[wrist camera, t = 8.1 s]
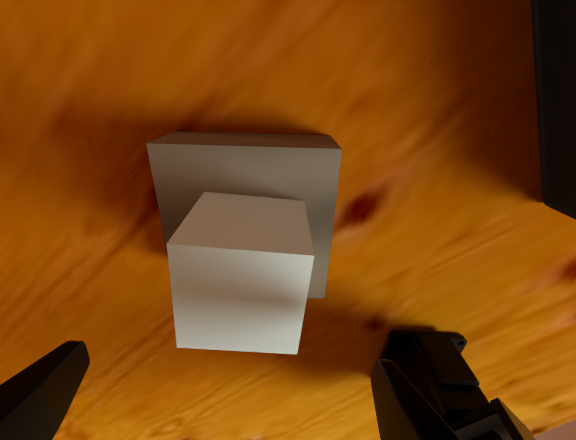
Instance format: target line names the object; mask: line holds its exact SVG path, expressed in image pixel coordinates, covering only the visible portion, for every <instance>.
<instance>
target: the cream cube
mask: <svg viewBox="0 0 576 440" xmlns="http://www.w3.org/2000/svg"><path fill="white" fill-rule="evenodd" d="M167 253H168V263H169V273H170V283H171V293H172V303H173V313H174V323H175V333H176V343H177V348H193V349H210V350H228V351H245V352H263V353H280V354H297V352H298V347H299V341H300V335H301V330H302V324H303V318H304V312H305V307H306V301H307V295H308V290H309V284H310V278H311V272H312V267H313V261H314V251H313V245H312V240H311V234H310V229H309V224H308V218H307V213H306V207H305V202H304V201H301V200H290V199H280V198H269V197H258V196H247V195H236V194H225V193H214V192H204V193H203V194H202V195H201V197H200V198H199V200H198V201H197V202H196V204H195V205H194V207H193V208H192V209H191V211H190V212H189V214H188V215H187V216H186V218H185V219H184V220H183V222H182V223H181V225H180V226H179V227H178V229H177V230H176V232H175V233H174V234H173V236H172V237H171V239H170V240H169V241H168V243H167Z"/></svg>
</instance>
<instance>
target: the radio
mask: <svg viewBox="0 0 576 440" xmlns="http://www.w3.org/2000/svg"><path fill="white" fill-rule="evenodd" d="M531 12H532V29H533V45H534V62H535V78H536V95H537V112H538V128H539V145H540V162H541V178H542V195H543V202H544V204H545V205H547V206H548V207H550V208H552V209H554V210H556V211H559V212H561V213H563V214H565V215H567V216H569V217H571V218H574V219H576V0H531Z"/></svg>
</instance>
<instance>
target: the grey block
mask: <svg viewBox="0 0 576 440" xmlns="http://www.w3.org/2000/svg"><path fill="white" fill-rule="evenodd" d="M146 145H147V150H148V155H149V161H150V166H151V171H152V176H153V182H154V187H155V192H156V198H157V203H158V208H159V213H160V219H161V224H162V229H163V235H164V240H165V245H166V250H167V243H168V241H169V240H170V239H171V237H172V236H173V234H174V233H175V232H176V230H177V229H178V227H179V226H180V225H181V223H182V222H183V220H184V219H185V218H186V216H187V215H188V214H189V212H190V211H191V209H192V208H193V207H194V205H195V204H196V202H197V201H198V200H199V198H200V197H201V195H202V194H203V193H204V192H214V193H225V194H236V195H247V196H258V197H269V198H280V199H290V200H301V201H304V202H305V207H306V213H307V218H308V224H309V229H310V234H311V240H312V245H313V251H314V261H313V267H312V272H311V278H310V284H309V290H308V295H307V298H325V291H326V282H327V274H328V265H329V256H330V248H331V239H332V230H333V222H334V213H335V204H336V196H337V187H338V178H339V170H340V161H341V153H342V149H341V147H340V146H339V145H338V144H337V143H336V142H335V141H334V139H333V138H332V137H331V136H323V135H290V134H256V133H223V132H190V131H173V132H171V133H169V134H166V135H164V136H162V137H160V138H157V139H155V140H153V141H150V142H148V143H146ZM167 256H168V253H167Z"/></svg>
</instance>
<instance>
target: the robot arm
mask: <svg viewBox="0 0 576 440" xmlns="http://www.w3.org/2000/svg"><path fill="white" fill-rule="evenodd" d="M466 343H467V341H466V339H465V338H464V336H462V335H453V334H439V333H425V332H411V331H392V332H391V333H390V334H389V336H388V339H387V341H386V344H385V347H384V349H383V352H382V355H381V357H380V359H378V360H377V362H376V364H375V367H374V369H373V372H372V375H371V386H372V392H373V398H374V404H375V410H376V416H377V422H378V428H379V433H380V438H381V440H536V439H534V437H533V435H532V434H531V433H530V431H529V430H528V429H527V427H526V426H525V425H524V424H523V423H522V422H521V421H520V420H519V419H518V418H517V417H516V416H515V415H514V414H513V413H512V412H511V410H510V409H509V408H508V407H507V406H506V405H505V404H504V403H503V402H502V401H501V400H500V399H499V398H495V399H493V400H491V401H490V402H491V403H489V402H488V400H487V398H486V397H485V395H484V394H483V392H482V391H481V389H480V388H479V381H478V380H477V378H476V377H475V375H474V374H473V372H472V371H471V369H470V367H469V366H468V364H467V363H466V361H465V360H464V358H463V357H462V355H461V352H462V351H463V349H464V347H465V345H466ZM89 363H90V358H89V355H88V351H87V348H86V345H85V343H84V342H83V341H73V340H71V341H67V342H65V343H63V344H62V345H60V346H59V347H57V348H56V349H54V350H53V351H51V352H50V353H48V354H47V355H45V356H44V357H42V358H41V359H39V360H37V361H36V362H34V363H33V364H31V365H30V366H28V367H27V368H25V369H24V370H22V371H21V372H19V373H18V374H16V375H15V376H13V377H12V378H10V379H9V380H7V381H6V382H4V383H2V384H1V385H0V440H52V439H53V437H54V436H55V434H56V432H57V430H58V429H59V427H60V425H61V423H62V421H63V419H64V417H65V415H66V413H67V411H68V409H69V407H70V405H71V403H72V401H73V399H74V396H75V394H76V392H77V390H78V388H79V386H80V384H81V382H82V380H83V377H84V375H85V373H86V371H87V369H88V367H89Z"/></svg>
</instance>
